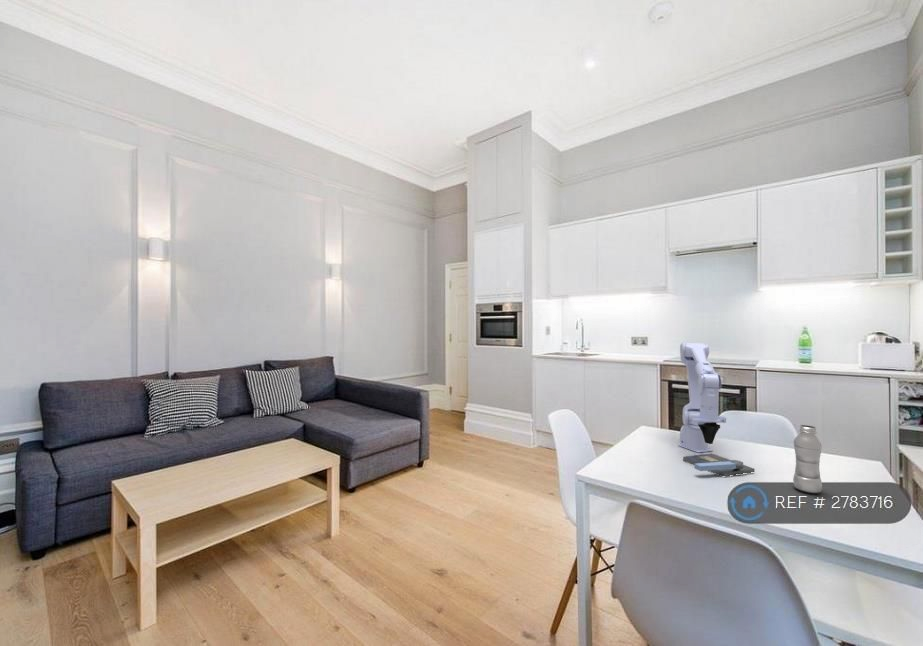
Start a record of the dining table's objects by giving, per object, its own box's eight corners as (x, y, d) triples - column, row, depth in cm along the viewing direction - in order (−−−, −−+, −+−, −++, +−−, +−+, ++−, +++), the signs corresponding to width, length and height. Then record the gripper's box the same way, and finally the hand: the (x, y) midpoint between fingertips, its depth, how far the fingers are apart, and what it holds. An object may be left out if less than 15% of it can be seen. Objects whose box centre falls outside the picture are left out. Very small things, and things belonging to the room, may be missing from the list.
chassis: (683, 460, 142) (683, 455, 142) (711, 457, 146) (711, 452, 146) (724, 477, 127) (724, 471, 127) (754, 473, 131) (754, 467, 131)
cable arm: (736, 464, 132) (736, 459, 132) (746, 468, 128) (746, 463, 128) (693, 467, 129) (693, 462, 129) (701, 471, 125) (701, 466, 125)
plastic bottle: (827, 497, 113) (828, 430, 113) (801, 494, 114) (802, 428, 114) (812, 487, 119) (813, 424, 119) (787, 485, 121) (788, 423, 121)
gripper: (704, 409, 134) (703, 448, 134) (734, 407, 138) (733, 444, 138) (686, 405, 141) (686, 442, 141) (716, 403, 145) (715, 439, 145)
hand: (708, 443), depth 140 cm, fingers closed
